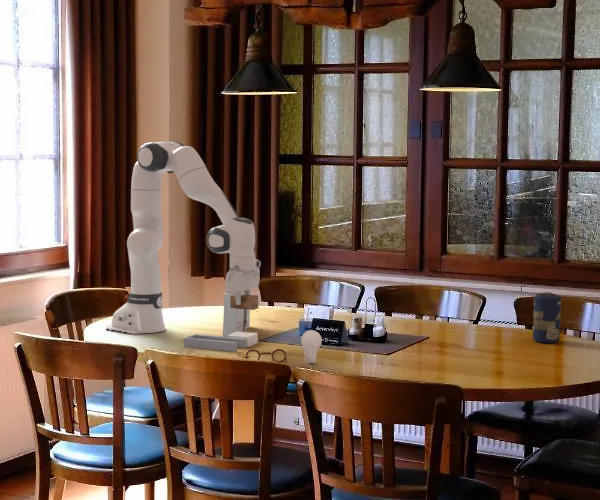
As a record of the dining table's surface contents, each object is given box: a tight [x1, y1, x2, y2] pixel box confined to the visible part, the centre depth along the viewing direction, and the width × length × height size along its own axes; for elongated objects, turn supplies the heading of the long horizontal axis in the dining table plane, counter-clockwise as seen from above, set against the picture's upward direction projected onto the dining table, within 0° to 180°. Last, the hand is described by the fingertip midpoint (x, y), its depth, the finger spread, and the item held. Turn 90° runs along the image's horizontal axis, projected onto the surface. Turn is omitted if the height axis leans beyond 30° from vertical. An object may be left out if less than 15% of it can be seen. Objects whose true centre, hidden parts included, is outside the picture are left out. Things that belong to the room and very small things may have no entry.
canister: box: [532, 291, 562, 344], centre depth 369 cm, size 10×10×18 cm
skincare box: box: [222, 291, 252, 337], centre depth 384 cm, size 21×6×16 cm, turn 168°
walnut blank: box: [230, 294, 259, 311], centre depth 360 cm, size 9×4×4 cm, turn 67°
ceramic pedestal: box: [226, 331, 259, 348], centre depth 362 cm, size 8×8×4 cm
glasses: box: [245, 348, 288, 365], centre depth 327 cm, size 13×13×5 cm
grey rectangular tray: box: [183, 333, 247, 353], centre depth 357 cm, size 20×8×3 cm, turn 67°
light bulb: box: [300, 329, 323, 365], centre depth 331 cm, size 7×7×11 cm
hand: (242, 303), depth 360 cm, fingers closed on walnut blank, 4 cm apart
